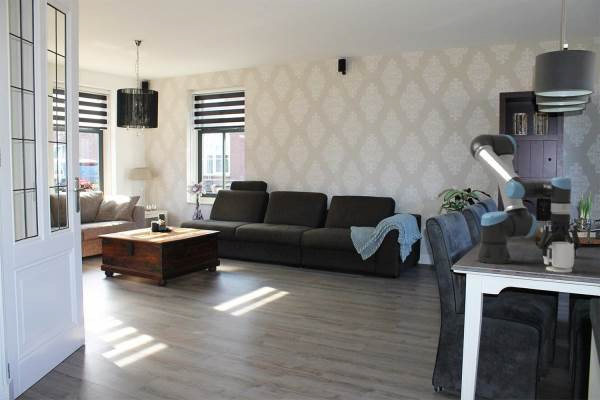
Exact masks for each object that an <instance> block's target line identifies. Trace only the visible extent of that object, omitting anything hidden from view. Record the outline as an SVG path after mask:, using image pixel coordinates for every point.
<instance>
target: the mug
mask: <svg viewBox="0 0 600 400" xmlns="http://www.w3.org/2000/svg"><path fill="white" fill-rule="evenodd" d="M551 231H552V230H549V233H548V236H547V238H548V237H549V235H550V232H551ZM542 233H543V231H541V235H540V234H539V235H536V236H535V238H534V243H535V246H536V248H538V249H540V250H542V255H543V249H542V248H540V247H538V245H539V242H538V238H541V236H542ZM546 240H547V239H546ZM552 242H567V239H566V238H565V236H564V235H562V234H561V235H557V236H555V238H554V239H553V241H552ZM552 242H551V244H550V245H552ZM548 249H549V258H552V248H548Z"/></svg>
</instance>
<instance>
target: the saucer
mask: <svg viewBox="0 0 600 400" xmlns="http://www.w3.org/2000/svg"><path fill="white" fill-rule="evenodd" d="M545 270H546V271H548V272H552V271H553V273H568V274H569V273H572V272H573V269H572V268H559V267H554V266H552V265H551V266H550V265H549V266H546V267H545Z"/></svg>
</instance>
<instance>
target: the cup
mask: <svg viewBox="0 0 600 400" xmlns="http://www.w3.org/2000/svg"><path fill="white" fill-rule="evenodd" d="M548 248H552V257H551V258H549V263H551V266H554V267H559V268H571V269H572V268H573V266H574V264H573V255H574V244H573V243H572V244H570V243H569V242H568V241H566V242H552V245H550V246H549V247H548ZM542 258H543V259H544V256H543V255H542Z"/></svg>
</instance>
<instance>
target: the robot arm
mask: <svg viewBox="0 0 600 400" xmlns="http://www.w3.org/2000/svg"><path fill="white" fill-rule="evenodd" d="M469 151H470V155H471V156H472V158H474V160H475V161H476V162H478V163H481V164H482V165H483V166H484V167H485V168H486V169H487V170H488V171H489V172H490V173H491V174H492V175H493V176H494V178H496V181H497V184H498V188H499V192H500V196H501V200H502V204H503V208H504V210H503V211H490V212H486V213H484V214H483V215H481V220H480V221H481V222H480V226H481V227H480V245H479V246H480V247H479V249H478V252H477V253H476V261H477V260H478V261H477V262H480V261H481V262H480V263H484V262H487V263H486V264H499V265H500V264H509V263H511V260H512V259H511V255H510V251H509V248H508V239H525V238H531V237H532V236H533V235H534V234H535V232H536V229H537V223H538V221H537V218H536V216H535V215H534V214H533V213H530V212H529V209H528V207H526V206H524V203H523V200H522V199H526V200H527V199H550V200H551V201H550V212H551V214H550V224H549V225H545V224H543V226H542V227H543V228H542V229H543V231H542V232H543V233H542V232H541V237H540V238H539V242H538V247H540V248H542V249H543V254H542V257H543V256H544V258H543V263H544V264H545V265H549V266H550V262H549V259H550V257H549V249H548V247H549V246H550V244H551V242H552V241H553V239H554V238H555V236H557V235H561V234H562V235H564V236H565V238H566V242H569V243H570V244H572V243H573V244H574V255H573V265H574V264H575V257H577V250H578V248H581V247H582V244H581V242H580V237H579V233H578V225H574V224H571V223H570V222H571V214H570V213H571V200H572V199H571V198H572V197H571V196H572V179H571V178H570V177H552V179H551V181H544V180H537V181H525V180H523V179H522V178H521V177H520V176H519V175H518V174H517V173H516V172H515V169H514V165H513V160H514V158H515V154H516V153H517V143H516V141H515V138H514V137H512V136H511V135H507V134H504V133H503V134H502V133H500V134H485V133H484V134H480V135H477V136H476V137H474V138H473V140H471V142H470V145H469ZM569 230H570V231H569ZM549 231H551V232H550V235H549V237H548V238H547V236H548V233H549ZM570 232H571V233H570ZM571 236H572V237H571ZM546 239H547V240H546ZM538 247H537V248H538ZM540 248H539V249H540ZM542 249H541V250H542Z"/></svg>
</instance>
